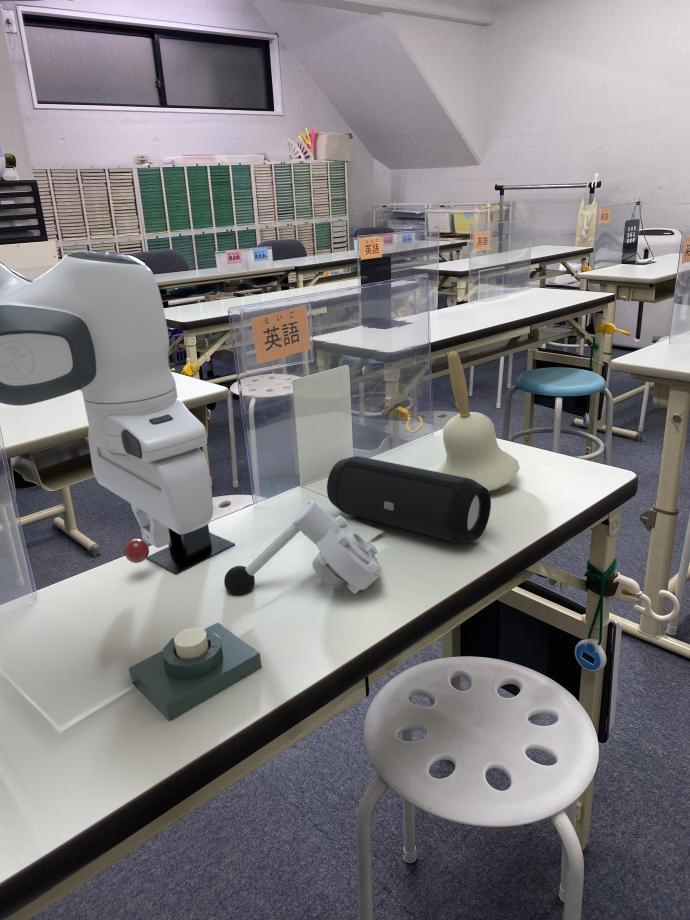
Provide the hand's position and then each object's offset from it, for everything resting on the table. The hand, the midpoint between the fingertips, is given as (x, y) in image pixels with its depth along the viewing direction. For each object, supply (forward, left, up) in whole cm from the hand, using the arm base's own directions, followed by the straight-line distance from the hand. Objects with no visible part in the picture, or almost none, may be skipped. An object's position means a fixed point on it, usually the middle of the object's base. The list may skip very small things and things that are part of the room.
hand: (156, 541), depth 73 cm
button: (+2, -1, -14) cm, 14 cm away
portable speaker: (+38, +24, -18) cm, 48 cm away
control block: (+2, -1, -17) cm, 17 cm away
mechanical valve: (+18, +12, -18) cm, 28 cm away
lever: (0, +26, -11) cm, 28 cm away
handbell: (+56, +35, -18) cm, 68 cm away
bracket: (+4, +28, -17) cm, 33 cm away
